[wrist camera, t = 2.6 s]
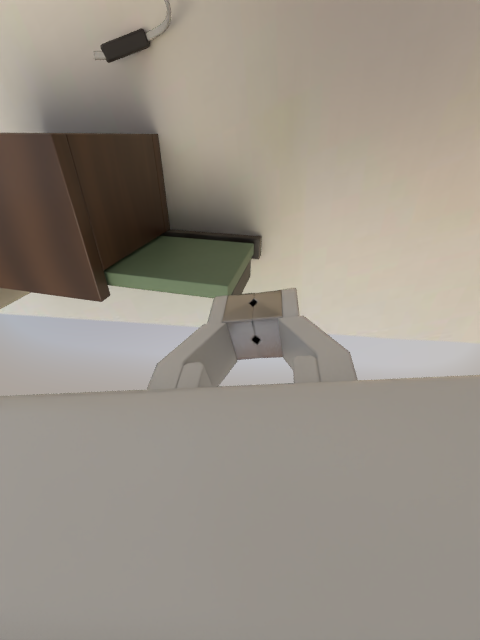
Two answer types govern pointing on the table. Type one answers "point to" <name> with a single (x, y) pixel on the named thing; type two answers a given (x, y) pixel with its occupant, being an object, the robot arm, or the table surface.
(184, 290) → the door
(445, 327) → the table surface
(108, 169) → the cabinet
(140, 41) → the clip-on lamp
